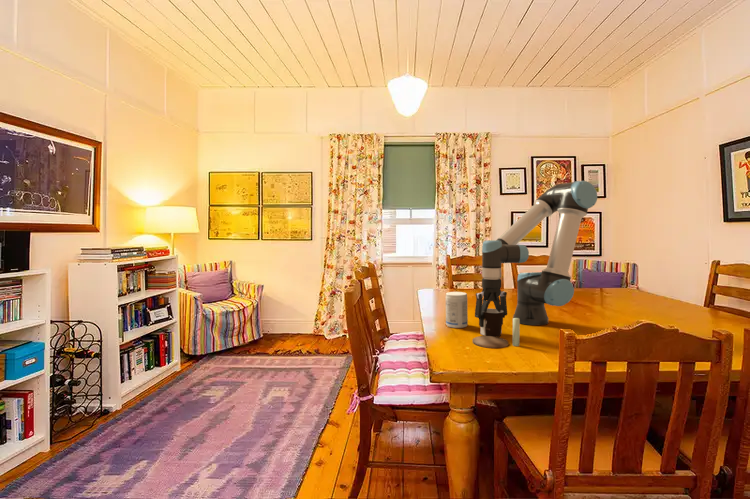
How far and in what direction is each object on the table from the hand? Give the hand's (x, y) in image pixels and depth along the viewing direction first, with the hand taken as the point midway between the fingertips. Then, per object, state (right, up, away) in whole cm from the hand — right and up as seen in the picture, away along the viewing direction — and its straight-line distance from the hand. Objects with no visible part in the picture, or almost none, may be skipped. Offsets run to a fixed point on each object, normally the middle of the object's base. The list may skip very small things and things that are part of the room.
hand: (491, 333), depth 159 cm
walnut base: (-4, -1, -12) cm, 13 cm away
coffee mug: (0, 0, 0) cm, 1 cm away
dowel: (+5, -1, -15) cm, 16 cm away
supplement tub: (-11, 0, +14) cm, 18 cm away
